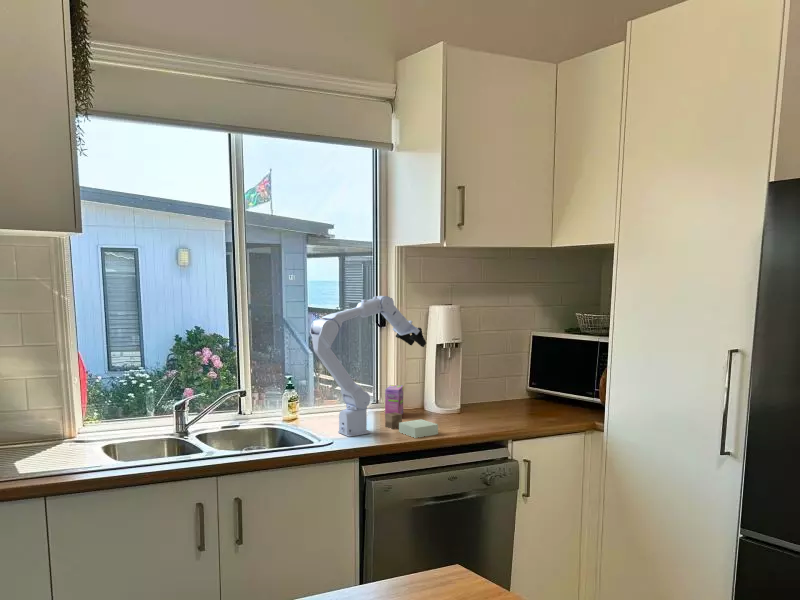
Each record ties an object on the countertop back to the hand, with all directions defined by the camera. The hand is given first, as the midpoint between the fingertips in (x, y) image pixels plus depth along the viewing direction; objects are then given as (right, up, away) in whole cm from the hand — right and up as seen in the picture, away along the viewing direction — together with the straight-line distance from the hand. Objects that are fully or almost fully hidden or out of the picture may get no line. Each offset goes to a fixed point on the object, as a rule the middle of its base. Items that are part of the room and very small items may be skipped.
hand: (418, 344), depth 230 cm
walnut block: (-9, -31, -6) cm, 33 cm away
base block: (-1, -31, -15) cm, 34 cm away
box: (-9, -30, +14) cm, 35 cm away
